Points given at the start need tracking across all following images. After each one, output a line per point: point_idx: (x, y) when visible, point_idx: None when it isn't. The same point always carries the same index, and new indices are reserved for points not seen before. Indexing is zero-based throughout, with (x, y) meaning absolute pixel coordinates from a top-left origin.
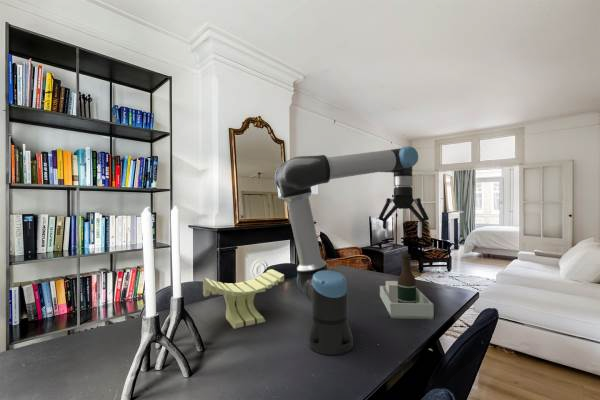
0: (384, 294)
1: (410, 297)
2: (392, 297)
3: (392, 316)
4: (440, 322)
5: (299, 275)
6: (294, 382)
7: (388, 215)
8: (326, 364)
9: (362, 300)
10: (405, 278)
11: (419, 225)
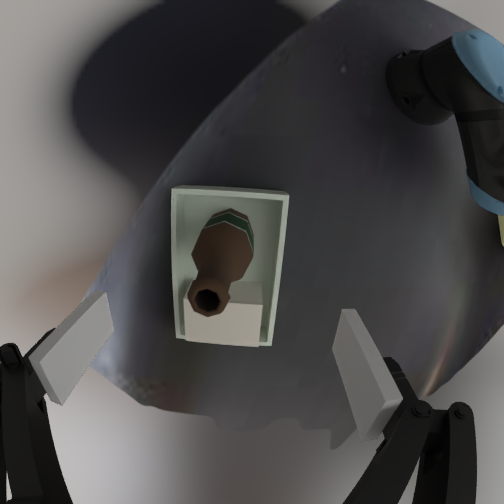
0: (279, 279)
1: (223, 216)
2: (252, 288)
3: (280, 191)
4: (173, 166)
5: None
6: (444, 21)
7: (403, 463)
8: (419, 37)
9: (318, 310)
10: (230, 238)
11: (60, 350)
